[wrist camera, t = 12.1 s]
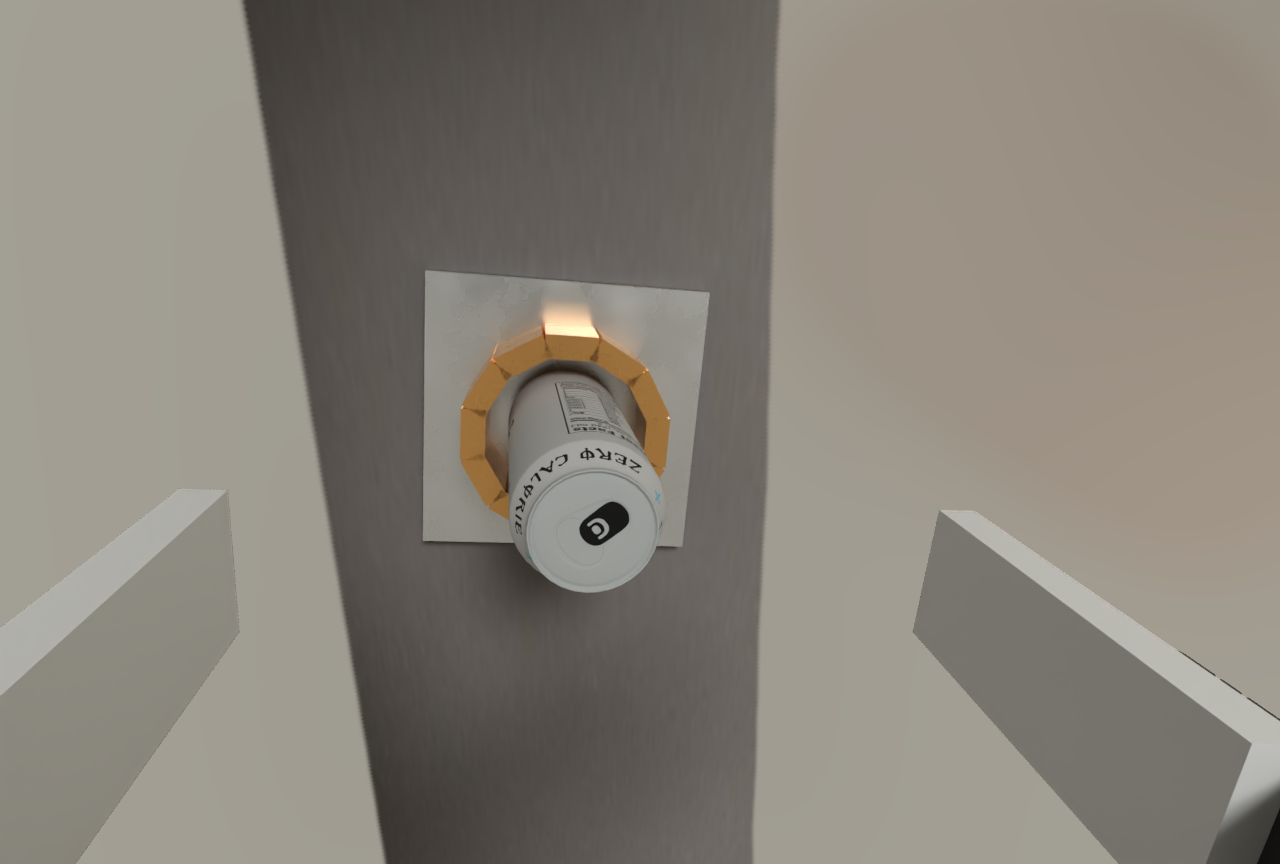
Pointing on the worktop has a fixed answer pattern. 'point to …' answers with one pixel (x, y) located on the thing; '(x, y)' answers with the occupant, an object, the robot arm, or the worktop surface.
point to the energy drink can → (580, 485)
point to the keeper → (532, 346)
